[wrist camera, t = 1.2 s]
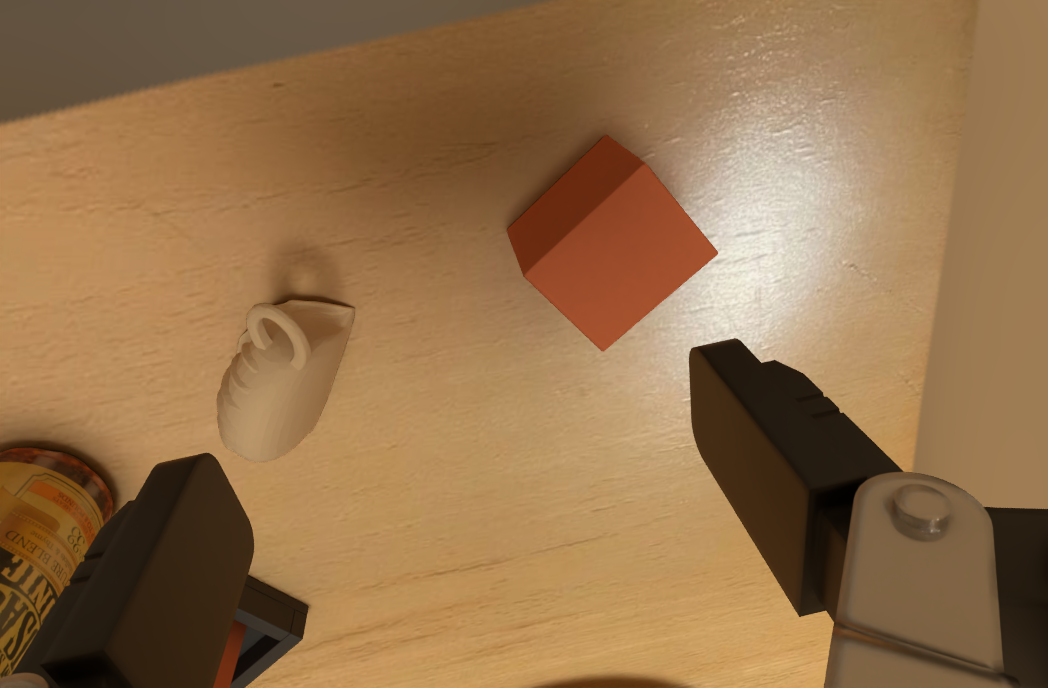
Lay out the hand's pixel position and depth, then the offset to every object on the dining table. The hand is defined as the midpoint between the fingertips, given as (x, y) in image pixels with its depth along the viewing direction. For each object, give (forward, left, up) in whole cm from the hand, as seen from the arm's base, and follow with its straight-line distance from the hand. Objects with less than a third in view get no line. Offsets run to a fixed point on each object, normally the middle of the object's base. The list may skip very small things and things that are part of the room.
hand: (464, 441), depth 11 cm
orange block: (+5, +3, -17) cm, 18 cm away
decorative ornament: (0, -10, -17) cm, 19 cm away
